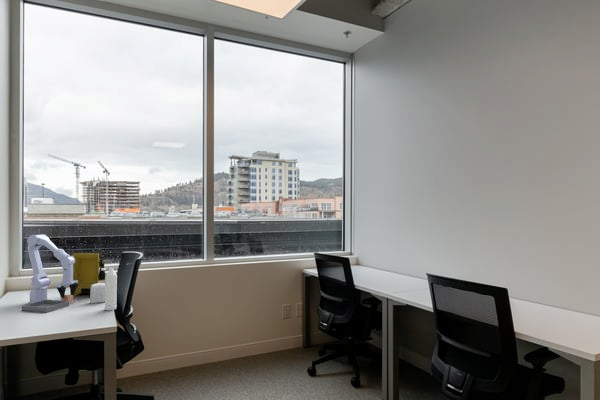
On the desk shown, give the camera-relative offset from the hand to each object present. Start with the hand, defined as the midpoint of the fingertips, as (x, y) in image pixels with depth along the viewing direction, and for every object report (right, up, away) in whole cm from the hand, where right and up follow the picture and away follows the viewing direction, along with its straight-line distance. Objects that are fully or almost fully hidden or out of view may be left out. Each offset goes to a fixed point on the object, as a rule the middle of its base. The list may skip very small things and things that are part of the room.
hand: (67, 296), depth 241 cm
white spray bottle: (+34, -4, -15) cm, 38 cm away
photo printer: (+19, -5, +3) cm, 20 cm away
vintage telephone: (+2, -5, +24) cm, 24 cm away
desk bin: (-5, -4, -13) cm, 15 cm away
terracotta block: (0, -4, 0) cm, 4 cm away
